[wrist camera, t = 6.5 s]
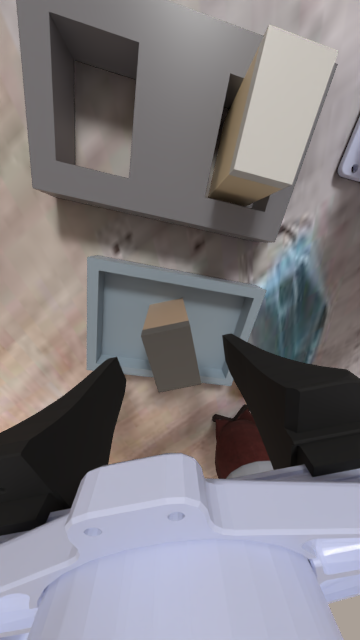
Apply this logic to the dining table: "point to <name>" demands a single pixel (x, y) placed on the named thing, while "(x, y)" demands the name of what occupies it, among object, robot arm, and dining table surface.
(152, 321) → the block
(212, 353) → the parts tray
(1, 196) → the dining table surface
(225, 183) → the block
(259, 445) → the mate gourd
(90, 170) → the block
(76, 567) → the robot arm
